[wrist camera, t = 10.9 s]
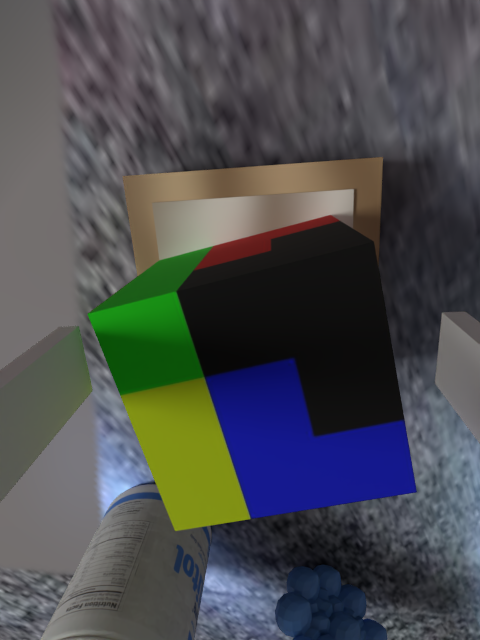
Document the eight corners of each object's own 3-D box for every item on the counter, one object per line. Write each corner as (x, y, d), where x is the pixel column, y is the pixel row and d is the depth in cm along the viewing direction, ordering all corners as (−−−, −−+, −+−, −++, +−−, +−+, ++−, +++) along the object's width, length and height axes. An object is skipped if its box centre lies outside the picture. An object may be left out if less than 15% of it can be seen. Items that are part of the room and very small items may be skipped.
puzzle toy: (362, 375, 26) (416, 492, 16) (208, 407, 27) (174, 531, 18) (330, 214, 23) (373, 241, 13) (159, 260, 24) (87, 313, 15)
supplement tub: (230, 546, 37) (207, 764, 23) (140, 574, 39) (70, 791, 25) (180, 463, 35) (121, 653, 21) (86, 497, 37) (-25, 692, 23)
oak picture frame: (363, 160, 26) (383, 156, 21) (358, 362, 31) (374, 396, 26) (146, 176, 27) (121, 176, 23) (172, 368, 32) (155, 401, 27)
